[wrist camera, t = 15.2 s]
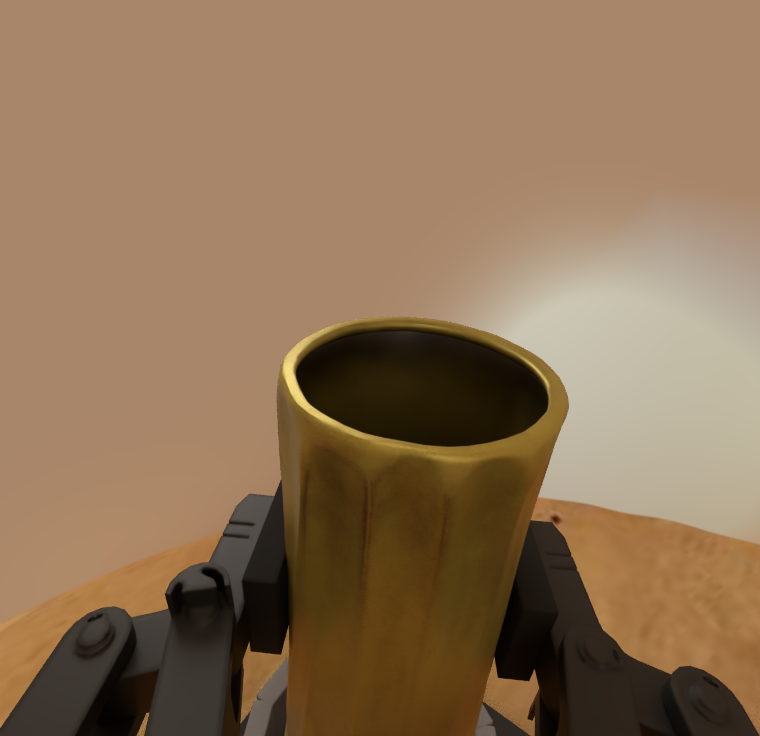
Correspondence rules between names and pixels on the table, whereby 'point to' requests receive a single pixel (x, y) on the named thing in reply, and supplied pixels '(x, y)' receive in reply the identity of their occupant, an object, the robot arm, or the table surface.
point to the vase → (405, 517)
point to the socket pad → (269, 714)
